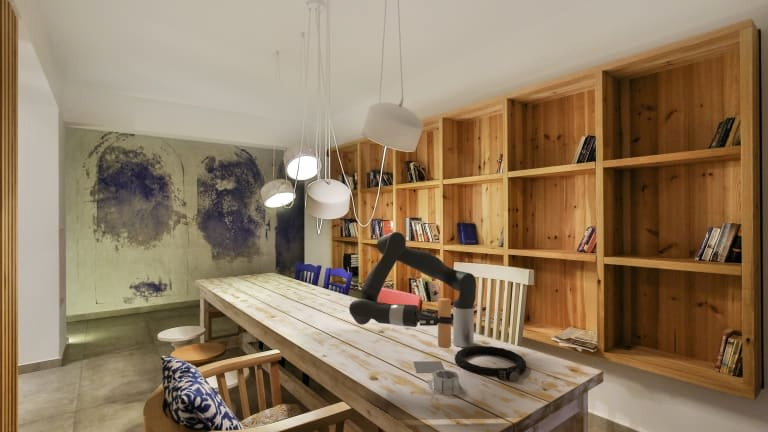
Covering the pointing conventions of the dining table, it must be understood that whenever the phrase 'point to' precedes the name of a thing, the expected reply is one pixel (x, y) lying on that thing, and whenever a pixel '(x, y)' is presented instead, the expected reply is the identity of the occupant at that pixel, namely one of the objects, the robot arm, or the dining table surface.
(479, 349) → the cable lock
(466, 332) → the robot arm
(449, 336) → the tube
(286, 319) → the dining table surface
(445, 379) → the collar stand
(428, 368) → the mat
